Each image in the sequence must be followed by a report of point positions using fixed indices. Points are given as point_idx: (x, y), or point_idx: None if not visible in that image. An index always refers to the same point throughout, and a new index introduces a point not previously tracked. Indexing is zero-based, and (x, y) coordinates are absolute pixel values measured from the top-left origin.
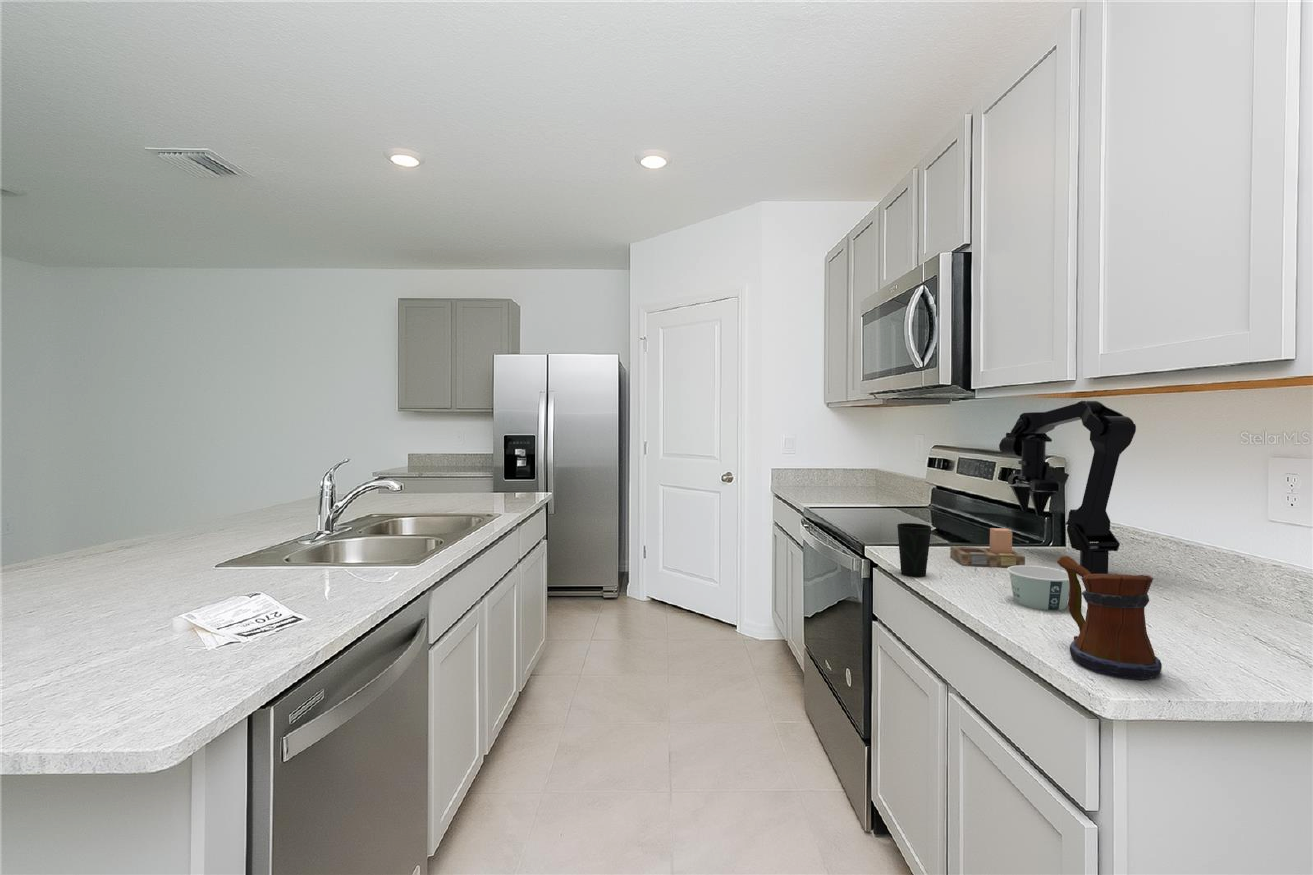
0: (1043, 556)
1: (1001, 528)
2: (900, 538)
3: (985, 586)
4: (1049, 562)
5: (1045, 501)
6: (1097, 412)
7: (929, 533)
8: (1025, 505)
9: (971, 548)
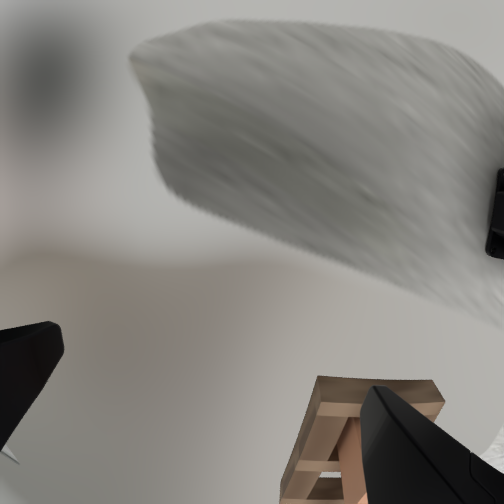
0: (251, 204)
1: (364, 498)
2: None
3: (491, 464)
4: (369, 251)
5: (487, 488)
6: None
7: None
8: (29, 360)
9: (311, 482)
